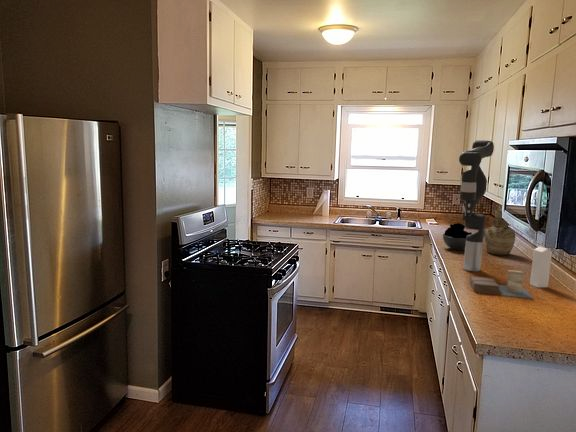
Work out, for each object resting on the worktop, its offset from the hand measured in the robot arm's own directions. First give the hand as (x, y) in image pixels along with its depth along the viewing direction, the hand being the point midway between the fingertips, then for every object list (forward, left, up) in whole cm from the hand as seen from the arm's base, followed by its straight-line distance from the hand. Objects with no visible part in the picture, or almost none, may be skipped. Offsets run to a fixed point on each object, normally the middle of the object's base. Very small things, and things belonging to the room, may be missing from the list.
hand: (465, 221), depth 231 cm
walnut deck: (+11, +10, -32) cm, 35 cm away
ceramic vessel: (-83, +35, -32) cm, 96 cm away
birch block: (+11, +24, -32) cm, 41 cm away
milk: (-6, +40, -32) cm, 52 cm away
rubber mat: (+11, +24, -32) cm, 41 cm away
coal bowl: (-85, +8, -32) cm, 91 cm away
